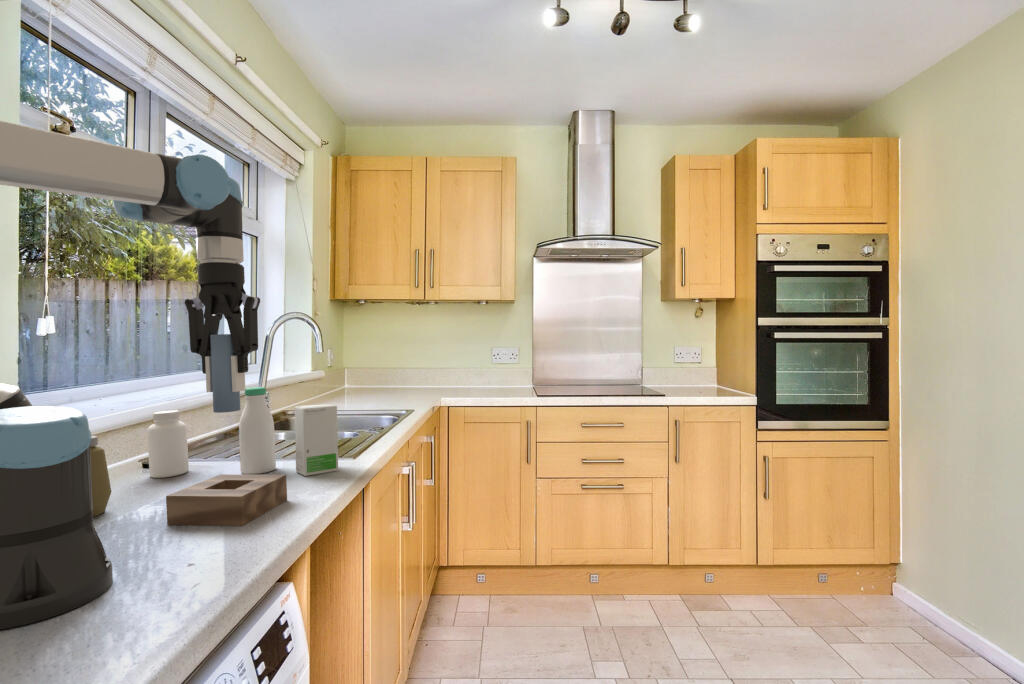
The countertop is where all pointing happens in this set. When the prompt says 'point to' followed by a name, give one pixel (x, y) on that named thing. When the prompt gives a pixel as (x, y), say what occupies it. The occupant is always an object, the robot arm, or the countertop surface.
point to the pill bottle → (167, 445)
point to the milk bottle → (256, 434)
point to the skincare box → (316, 439)
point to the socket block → (226, 500)
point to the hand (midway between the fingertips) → (226, 391)
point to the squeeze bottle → (99, 478)
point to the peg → (223, 374)
